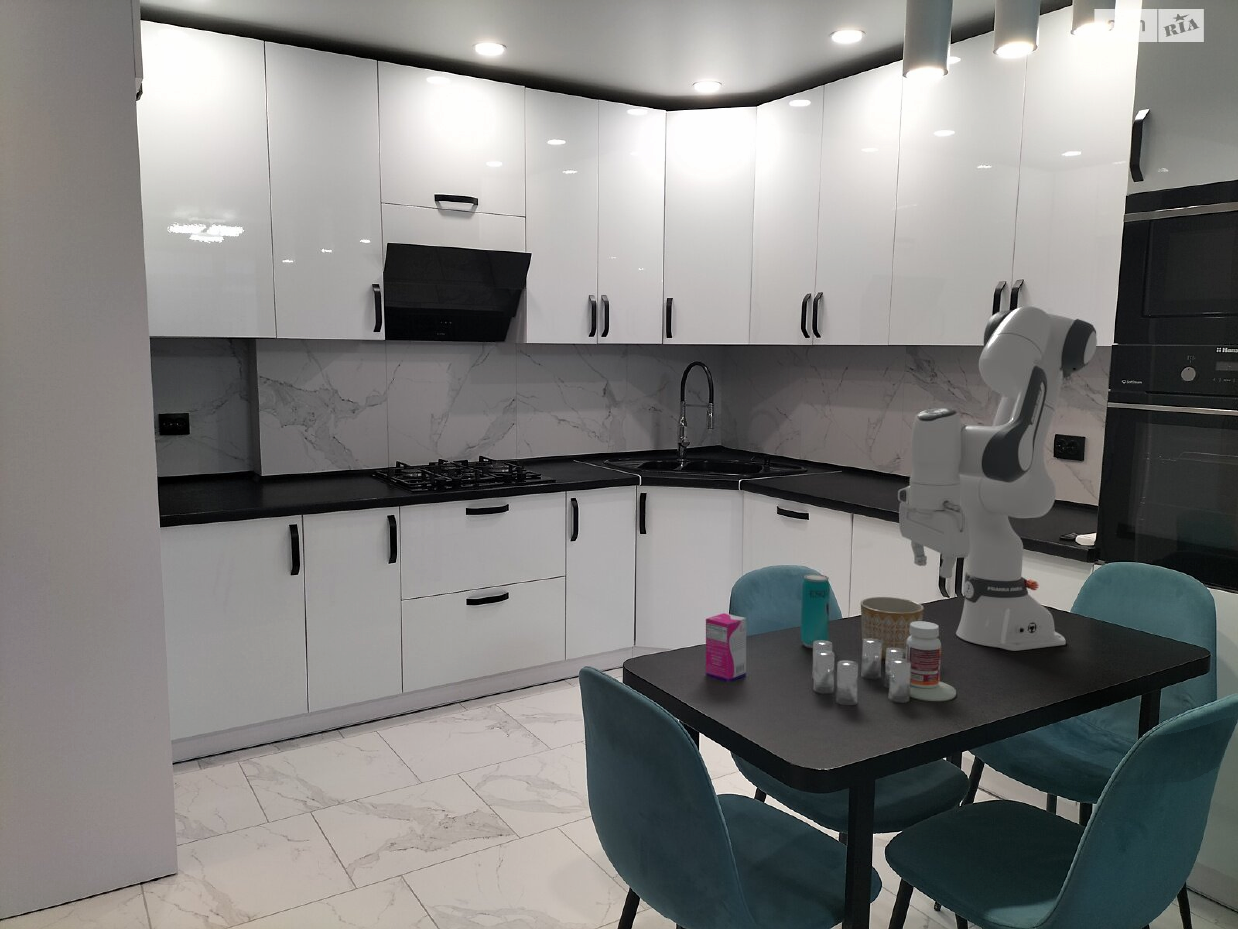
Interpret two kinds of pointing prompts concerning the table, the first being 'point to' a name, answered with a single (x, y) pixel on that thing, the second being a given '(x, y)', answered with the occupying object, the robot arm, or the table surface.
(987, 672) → the table surface
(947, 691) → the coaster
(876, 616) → the planter
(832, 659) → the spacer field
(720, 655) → the supplement box
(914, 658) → the pill bottle
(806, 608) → the beverage can
